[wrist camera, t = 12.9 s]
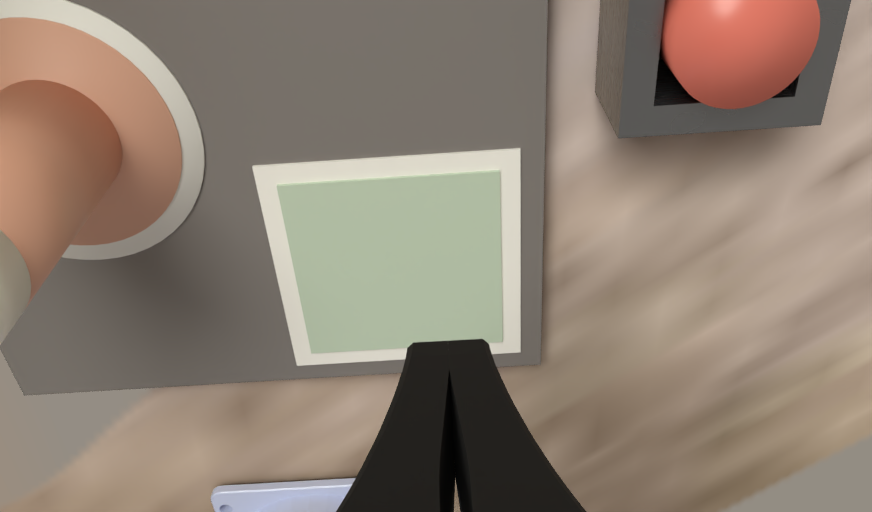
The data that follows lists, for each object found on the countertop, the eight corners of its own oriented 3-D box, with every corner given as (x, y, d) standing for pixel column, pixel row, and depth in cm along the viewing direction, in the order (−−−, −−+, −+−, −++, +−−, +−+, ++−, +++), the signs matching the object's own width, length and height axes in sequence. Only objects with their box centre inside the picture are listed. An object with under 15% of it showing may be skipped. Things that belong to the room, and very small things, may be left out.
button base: (774, 79, 21) (820, 125, 19) (595, 91, 21) (618, 138, 19) (813, -117, 18) (873, -95, 16) (606, -102, 19) (634, -77, 16)
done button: (770, 73, 19) (803, 104, 18) (644, 81, 19) (665, 113, 18) (796, -60, 18) (835, -39, 16) (657, -50, 18) (682, -28, 16)
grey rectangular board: (537, 348, 27) (541, 368, 26) (33, 379, 27) (21, 399, 26) (544, -76, 19) (550, -68, 18) (-168, -25, 19) (-194, -15, 18)
